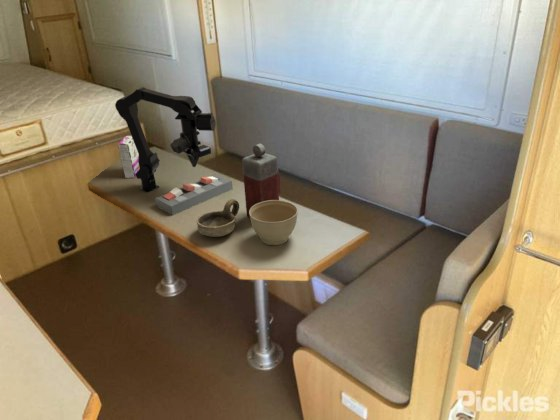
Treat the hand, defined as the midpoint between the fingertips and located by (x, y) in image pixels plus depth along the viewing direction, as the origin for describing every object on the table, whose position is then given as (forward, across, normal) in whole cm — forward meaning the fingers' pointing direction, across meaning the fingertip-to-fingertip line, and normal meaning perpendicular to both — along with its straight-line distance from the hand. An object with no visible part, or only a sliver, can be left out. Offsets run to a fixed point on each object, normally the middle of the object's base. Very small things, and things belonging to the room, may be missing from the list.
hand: (194, 166), depth 193 cm
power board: (+11, +5, -4) cm, 13 cm away
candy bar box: (+11, -38, -9) cm, 41 cm away
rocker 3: (+7, +2, +5) cm, 9 cm away
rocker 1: (+7, +3, -13) cm, 15 cm away
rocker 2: (+7, +3, -4) cm, 9 cm away
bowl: (+11, +34, -14) cm, 38 cm away
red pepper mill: (+11, +36, +5) cm, 38 cm away
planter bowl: (+11, +52, -4) cm, 53 cm away
